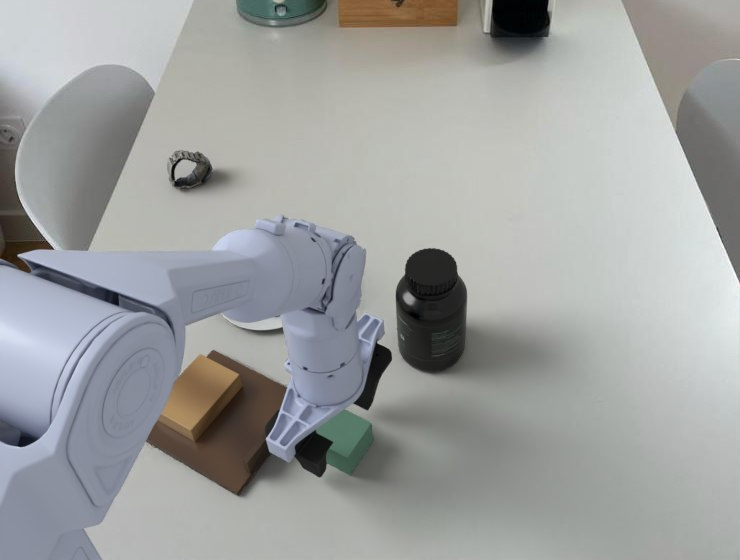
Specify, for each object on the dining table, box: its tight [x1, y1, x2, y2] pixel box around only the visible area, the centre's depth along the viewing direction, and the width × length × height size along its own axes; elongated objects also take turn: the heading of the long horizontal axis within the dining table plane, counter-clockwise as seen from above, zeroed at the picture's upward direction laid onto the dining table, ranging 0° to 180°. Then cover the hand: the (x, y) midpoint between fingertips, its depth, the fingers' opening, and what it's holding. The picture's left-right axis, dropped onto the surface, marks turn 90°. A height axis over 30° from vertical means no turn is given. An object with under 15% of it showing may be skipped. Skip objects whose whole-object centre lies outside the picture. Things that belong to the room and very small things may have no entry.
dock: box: [145, 349, 288, 497], centre depth 76 cm, size 11×12×3 cm
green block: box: [316, 409, 374, 476], centre depth 73 cm, size 4×5×3 cm
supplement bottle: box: [395, 247, 468, 373], centre depth 78 cm, size 7×7×12 cm
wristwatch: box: [166, 149, 214, 190], centre depth 101 cm, size 3×5×5 cm
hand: (337, 435), depth 73 cm, fingers open, 7 cm apart
